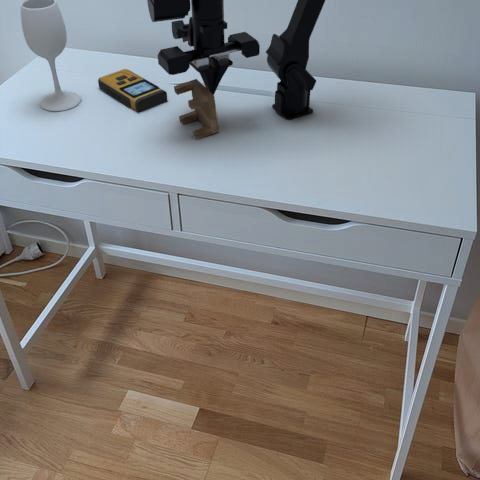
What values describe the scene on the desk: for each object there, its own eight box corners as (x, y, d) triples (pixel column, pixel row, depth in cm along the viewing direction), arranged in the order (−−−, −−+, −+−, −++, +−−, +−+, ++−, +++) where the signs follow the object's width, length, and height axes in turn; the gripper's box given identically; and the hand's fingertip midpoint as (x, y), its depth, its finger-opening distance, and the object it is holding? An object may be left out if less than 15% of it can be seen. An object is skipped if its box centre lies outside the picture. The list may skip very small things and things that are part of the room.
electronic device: (128, 79, 136) (126, 65, 134) (169, 102, 127) (168, 88, 125) (97, 90, 132) (94, 76, 130) (137, 115, 123) (135, 100, 121)
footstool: (201, 113, 122) (196, 78, 116) (218, 131, 116) (214, 95, 111) (180, 121, 120) (173, 86, 115) (196, 139, 115) (190, 103, 110)
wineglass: (87, 94, 129) (69, -3, 115) (69, 113, 123) (47, 12, 109) (52, 90, 131) (29, -7, 117) (32, 109, 125) (6, 8, 111)
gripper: (233, -8, 114) (234, 68, 124) (142, 9, 107) (151, 88, 117) (261, 10, 106) (260, 90, 117) (166, 30, 100) (173, 112, 110)
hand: (211, 94), depth 115 cm, fingers closed
